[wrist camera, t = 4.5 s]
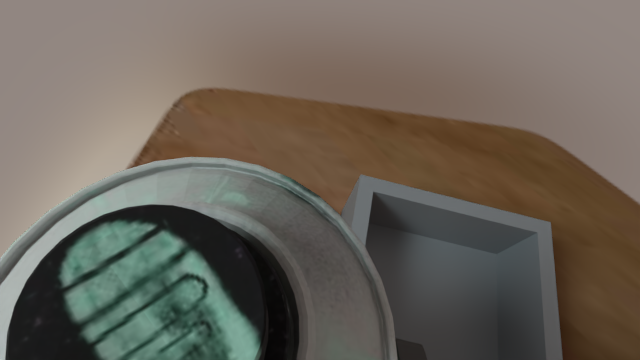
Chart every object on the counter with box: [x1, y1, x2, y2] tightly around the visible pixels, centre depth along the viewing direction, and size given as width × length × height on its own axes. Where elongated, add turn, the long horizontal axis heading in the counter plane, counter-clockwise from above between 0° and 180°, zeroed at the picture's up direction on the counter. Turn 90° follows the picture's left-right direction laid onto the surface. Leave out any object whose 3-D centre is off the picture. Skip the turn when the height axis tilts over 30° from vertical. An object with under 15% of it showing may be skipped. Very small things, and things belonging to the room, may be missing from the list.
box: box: [341, 175, 563, 360], centre depth 21 cm, size 11×11×5 cm
